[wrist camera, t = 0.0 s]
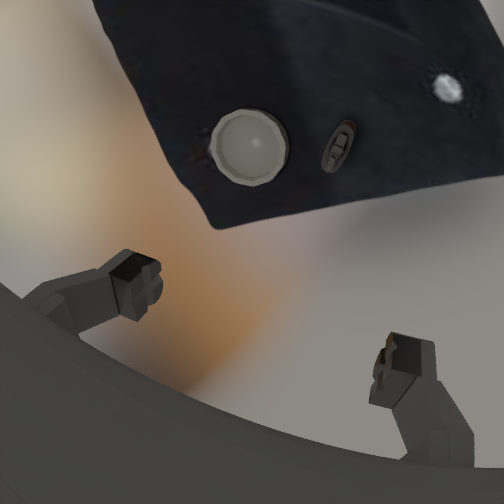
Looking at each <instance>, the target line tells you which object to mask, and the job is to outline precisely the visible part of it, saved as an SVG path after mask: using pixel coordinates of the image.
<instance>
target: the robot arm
mask: <svg viewBox="0 0 504 504" xmlns="http://www.w3.org/2000/svg"><path fill="white" fill-rule="evenodd" d="M160 272H161V263H160V262H159V261H158V260H156V259H153V258H150V257H148V256H145V255H142V254H139V253H136V252H134V251H131V250H129V249H123V250H122V251H121V252H119V253H118V254H117V255H115V256H114V257H113V258H112V259H110V260H109V261H108V262H106V263H105V264H104V265H103V266H101V267H100V268H99V269H98V270H97V269H91V270H87V271H83V272H80V273H76V274H72V275H68V276H65V277H61V278H57V279H54V280H50V281H47V282H43V283H42V284H40V285H39V286H37V287H36V288H35V289H34V290H32V291H31V292H30V293H29V294H28V295H26V296H25V297H24V298H23V299H21V298H20V297H18V296H17V295H16V294H14V293H13V292H12V291H10V290H9V289H8V288H7V287H5V286H4V285H3V284H2V283H0V504H504V468H474V434H473V432H472V430H471V429H470V427H469V425H468V423H467V422H466V420H465V419H464V417H463V415H462V414H461V412H460V411H459V409H458V407H457V406H456V404H455V403H454V401H453V400H452V398H451V396H450V395H449V394H448V392H447V390H446V389H445V387H444V386H443V384H442V383H441V381H437V373H436V357H435V345H434V342H432V341H428V340H424V339H418V338H414V337H410V336H406V335H402V334H398V333H395V332H391V333H390V334H389V336H388V338H387V340H386V347H385V348H383V349H381V351H380V353H379V355H378V357H377V360H376V363H375V366H374V370H373V378H374V380H375V381H374V383H373V384H372V386H371V390H370V397H369V403H370V404H373V405H377V406H381V407H385V408H389V409H392V413H393V415H394V418H395V420H396V422H397V426H398V428H399V431H400V433H401V436H402V439H403V441H404V443H405V446H406V449H407V452H408V453H407V454H406V455H405V456H403V457H402V458H401V459H400V460H397V459H392V458H386V457H380V456H375V455H370V454H365V453H360V452H355V451H351V450H346V449H342V448H338V447H334V446H330V445H326V444H323V443H319V442H315V441H311V440H308V439H304V438H301V437H297V436H294V435H291V434H287V433H284V432H281V431H278V430H275V429H272V428H269V427H266V426H263V425H260V424H257V423H254V422H252V421H249V420H246V419H243V418H241V417H238V416H235V415H232V414H230V413H227V412H225V411H222V410H220V409H217V408H215V407H212V406H210V405H208V404H205V403H203V402H200V401H198V400H196V399H193V398H191V397H189V396H187V395H185V394H182V393H180V392H178V391H176V390H174V389H171V388H169V387H167V386H165V385H163V384H161V383H159V382H157V381H155V380H153V379H151V378H149V377H147V376H145V375H143V374H141V373H139V372H137V371H135V370H133V369H131V368H130V367H128V366H126V365H124V364H122V363H120V362H118V361H117V360H115V359H113V358H111V357H110V356H108V355H106V354H104V353H103V352H101V351H99V350H97V349H96V348H94V347H92V346H91V345H89V344H87V343H85V342H84V341H82V340H81V339H80V337H79V335H78V334H79V333H80V332H83V331H85V330H87V329H90V328H92V327H94V326H97V325H99V324H101V323H103V322H106V321H108V320H110V319H112V318H115V317H117V316H119V314H120V315H122V316H125V317H127V318H129V319H131V320H133V321H136V322H138V321H139V320H140V319H141V318H142V316H143V315H144V314H145V313H146V312H147V311H148V306H149V305H152V304H155V303H156V301H157V300H158V299H159V298H160V296H161V293H162V289H163V280H162V279H161V277H160V275H159V273H160Z"/></svg>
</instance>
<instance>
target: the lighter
mask: <svg viewBox="0 0 504 504" xmlns="http://www.w3.org/2000/svg"><path fill="white" fill-rule="evenodd" d="M355 132H356V125H355V123H354V122H352V121H350V120H345V121H343V122H342V123H341V125H340V126H339V127H338V128H337V129H336V131H335V132H334V133H333V135H332V136H331V138H330V140H329V142H328V144H327V146H326V149H325V151H324V154H323V159H322V168H323V169H324V170H325V171H326V172H329V173H333V172H336V171H337V169H338V168H339V167H340V166H341V164H342V163H343V161H344V159H345V158H346V156H347V154H348V152H349V149H350V147H351V144H352V142H353V139H354V136H355Z"/></svg>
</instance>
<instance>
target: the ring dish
mask: <svg viewBox="0 0 504 504" xmlns="http://www.w3.org/2000/svg"><path fill="white" fill-rule="evenodd" d="M212 133H213V134H212V144H211V152H212V155H213V158H214V160H215V162H216V164H217V166H218V169H220V171H221V172H222V173H223V174H225V175H226V176H227V177H228V178H229V179H231V180H232V181H233V182H235V183H239V184H243V185H248V186H256V185H259V184H262V183H266V182H269V181H271V180H272V179H273V178H274V177H275V176H276V175H277V174H278V173H279V171H280V170H281V169H282V168H283V167H284V165H285V164H286V162H287V159H288V155H289V139H288V136H287V133H286V131H285V129H284V127H283V125H282V124H281V123H280V122H279V120H278V119H276V118H275V117H274V116H273V115H271V114H270V113H268V112H266V111H263V110H259V109H248V108H243V109H239V110H237V111H235V112H232V113H230V114H228V115H226V116H224V117H223V118H221V120H220V122H219V123H218V125H217V126H216V128H215V129H214V131H213V132H212Z"/></svg>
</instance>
